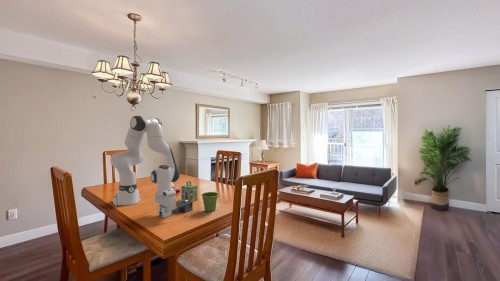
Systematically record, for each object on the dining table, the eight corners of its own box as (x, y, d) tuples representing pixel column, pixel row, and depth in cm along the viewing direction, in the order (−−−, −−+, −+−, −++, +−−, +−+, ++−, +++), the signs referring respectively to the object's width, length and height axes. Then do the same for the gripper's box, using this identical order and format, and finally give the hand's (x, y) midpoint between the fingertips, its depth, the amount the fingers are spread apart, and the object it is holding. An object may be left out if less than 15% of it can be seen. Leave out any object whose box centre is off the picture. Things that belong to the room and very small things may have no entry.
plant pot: (197, 210, 161) (197, 194, 160) (212, 206, 169) (212, 191, 168) (207, 214, 152) (207, 197, 152) (222, 210, 160) (222, 194, 160)
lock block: (157, 215, 150) (157, 206, 150) (166, 212, 155) (166, 204, 154) (162, 217, 146) (162, 208, 146) (171, 215, 151) (171, 206, 150)
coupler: (163, 213, 155) (163, 203, 155) (184, 207, 167) (184, 197, 167) (171, 216, 148) (171, 206, 148) (192, 210, 160) (192, 200, 160)
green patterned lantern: (189, 203, 177) (189, 183, 176) (180, 201, 182) (180, 182, 181) (198, 200, 185) (197, 181, 184) (189, 198, 190) (189, 180, 189)
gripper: (152, 188, 154) (152, 209, 155) (168, 194, 141) (168, 217, 141) (161, 187, 159) (161, 207, 160) (177, 192, 145) (177, 214, 146)
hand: (164, 211), depth 150 cm, fingers closed on lock block, 6 cm apart
